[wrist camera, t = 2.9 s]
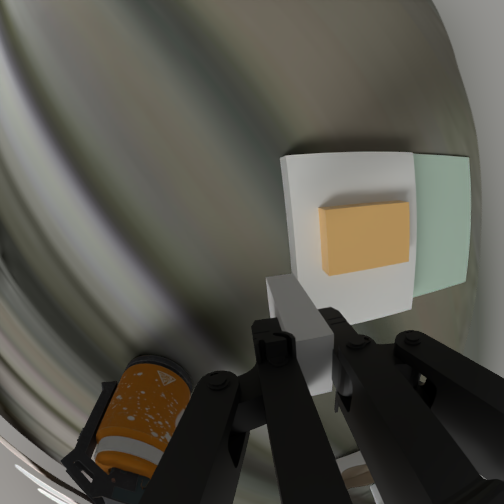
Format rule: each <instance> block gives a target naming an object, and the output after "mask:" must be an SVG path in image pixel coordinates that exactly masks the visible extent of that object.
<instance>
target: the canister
mask: <svg viewBox="0 0 504 504" xmlns="http://www.w3.org/2000/svg"><path fill="white" fill-rule="evenodd" d="M101 383H102V392H101V394H100V396H99V398H98V400H97V402H96V404H95V406H94V408H93V410H92V412H91V415H90V417H89V419H88V421H87V423H86V425H85V427H84V428H83V429H82V430H83V431H81V433H80V436H79V439H77V441H78V442H77V444H76V447H75V449H74V450H72V451H71V452H70V453H69V454H68V455H67V456H65V457H64V458H63V459H62V460H61V462H62V464H63V465H64V466H65V467H66V469H67V470H66V472H67V473H68V474H69V475H70V476H71V478H72V479H73V480H74V481H75V482H76V483H77V485H78V486H79V487H80V488H81V489H82V490H83V491H84V492H85V493H86V494H87V496H88V497H89V498H90V499H91V500H92V501H93V502H94V503H95V504H138V503H139V501H140V499H141V497H142V495H143V493H144V491H145V489H146V487H147V485H148V483H149V481H150V479H151V477H152V475H153V473H154V471H155V469H156V467H157V465H158V463H159V461H160V459H161V457H162V455H163V453H164V451H165V449H166V447H167V445H168V443H169V441H170V439H171V437H172V435H173V433H174V431H175V429H176V427H177V425H178V423H179V421H180V419H181V417H182V415H183V413H184V411H185V409H186V407H187V405H188V403H189V400H190V397H191V391H192V384H191V380H190V378H189V376H188V374H187V373H186V372H185V371H184V370H183V369H182V368H181V367H180V366H179V365H177V364H176V363H174V362H172V361H171V360H168V359H166V358H163V357H159V356H153V355H144V356H139V357H137V358H135V359H133V360H132V361H131V362H130V363H129V364H128V365H127V367H126V369H125V371H124V374H123V376H122V378H121V380H120V382H119V384H118V386H117V381H113V382H101ZM96 444H98V446H97V449H96V452H95V455H94V457H95V462H96V463H95V462H94V461H93V460H92V459H91V457H92V454H93V452H94V449H95V447H96ZM74 462H75V463H74ZM82 470H83V471H84V472H85V473H86V474H88V475H89V476H90V477H91V478H92V479H93V481H92V483H91V482H90V481H89V480H88V479H87V478H86V477H85V476H84V475H83V473H82V472H81V471H82Z"/></svg>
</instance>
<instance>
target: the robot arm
mask: <svg viewBox="0 0 504 504" xmlns="http://www.w3.org/2000/svg"><path fill="white" fill-rule="evenodd" d="M266 284H267V293H268V302H269V311H270V318H268V319H262V320H255V321H254V323H253V325H252V326H251V328H252V335H253V342H254V349H255V355H256V364H255V366H254V367H253V369H252V370H250V371H249V372H247V373H245V374H243V375H240V376H236V375H235V374H234V373H232V372H229V371H214V372H211V373H208V374H207V375H205V376H203V377H202V378H201V379H200V381H199V382H198V384H197V386H196V388H195V390H194V392H193V394H192V396H191V398H190V400H189V403H188V405H187V407H186V409H185V411H184V413H183V415H182V417H181V419H180V421H179V423H178V425H177V427H176V429H175V431H174V433H173V435H172V437H171V439H170V441H169V443H168V445H167V447H166V449H165V451H164V453H163V455H162V457H161V459H160V461H159V463H158V465H157V467H156V469H155V471H154V473H153V475H152V477H151V479H150V481H149V483H148V485H147V487H146V489H145V491H144V493H143V495H142V497H141V499H140V501H139V503H138V504H233V500H234V496H235V492H236V488H237V484H238V480H239V476H240V472H241V468H242V464H243V460H244V456H245V452H246V447H247V443H248V439H249V434H250V430H252V429H255V428H257V427H260V426H262V425H265V424H267V428H268V434H269V439H270V445H271V451H272V456H273V462H274V467H275V473H276V478H277V483H278V489H279V494H280V499H281V504H352V501H351V499H350V496H349V493H348V491H347V488H346V485H345V483H344V480H343V478H342V475H341V472H340V470H339V467H338V464H337V462H336V459H335V457H334V454H333V451H332V449H331V446H330V443H329V441H328V438H327V436H326V433H325V430H324V428H323V425H322V423H321V420H320V417H319V415H318V412H317V409H316V407H315V404H314V402H313V399H312V396H313V395H318V394H322V393H326V392H330V391H332V381H333V383H334V385H335V387H336V397H335V408H334V409H335V413H336V412H338V406H339V407H340V409H341V411H342V413H343V415H344V417H345V420H346V422H347V424H348V426H349V428H350V430H351V432H352V435H353V437H354V439H355V441H356V443H357V445H358V447H359V450H360V452H361V454H362V456H363V458H364V460H365V463H366V465H367V467H368V469H369V471H370V474H371V476H372V478H373V480H374V482H375V485H376V487H377V489H378V491H379V493H380V496H381V498H382V500H383V502H384V504H504V378H502V377H500V376H499V375H497V374H495V373H493V372H492V371H490V370H488V369H486V368H485V367H483V366H481V365H479V364H477V363H475V362H474V361H472V360H470V359H469V358H467V357H465V356H463V355H462V354H460V353H458V352H456V351H454V350H453V349H451V348H449V347H447V346H446V345H444V344H442V343H440V342H438V341H437V340H435V339H433V338H431V337H429V336H428V335H426V334H424V333H422V332H419V331H414V330H408V331H404V332H401V333H399V334H398V335H397V336H396V339H395V343H393V344H376V343H375V341H374V340H373V339H371V338H370V337H368V336H365V335H360V334H357V332H356V331H355V330H354V329H353V328H352V326H351V325H350V324H349V323H348V322H347V320H346V319H345V318H344V317H343V315H342V314H341V313H340V312H339V311H338V310H336V309H334V308H332V307H327V308H321V309H317V308H316V306H315V305H314V303H313V302H312V300H311V299H310V298H309V296H308V295H307V293H306V292H305V290H304V289H303V287H302V286H301V284H300V283H299V281H298V280H297V279H296V277H295V276H294V274H293V273H291V274H284V275H278V276H271V277H266ZM421 374H422V375H423V376H425V377H426V378H427V379H426V382H425V383H423V382H421V381H419V380H420V377H421ZM480 475H482V476H483V477H484V478H486V479H487V480H486V479H483V478H482V477H481V476H480Z"/></svg>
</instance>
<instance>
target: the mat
mask: <svg viewBox="0 0 504 504" xmlns="http://www.w3.org/2000/svg"><path fill="white" fill-rule="evenodd" d="M413 158H414V169H415V183H416V206H417V241H416V264H415V278H414V289H413V297H416V296H420V295H423V294H427V293H430V292H434V291H437V290H440V289H444V288H447V287H450V286H453V285H456V284H460V283H463V282H465V281H466V274H467V266H468V257H469V245H470V228H471V182H470V165H469V158H468V157H457V156H444V155H428V154H413Z"/></svg>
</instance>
